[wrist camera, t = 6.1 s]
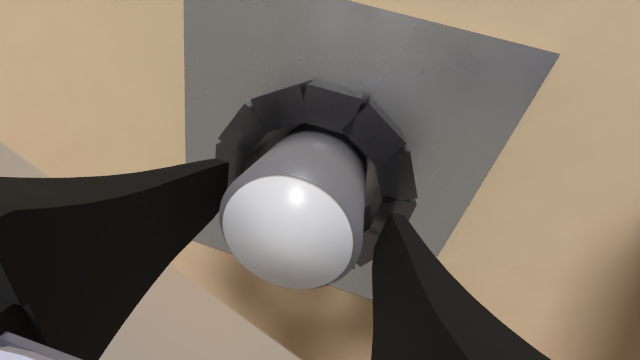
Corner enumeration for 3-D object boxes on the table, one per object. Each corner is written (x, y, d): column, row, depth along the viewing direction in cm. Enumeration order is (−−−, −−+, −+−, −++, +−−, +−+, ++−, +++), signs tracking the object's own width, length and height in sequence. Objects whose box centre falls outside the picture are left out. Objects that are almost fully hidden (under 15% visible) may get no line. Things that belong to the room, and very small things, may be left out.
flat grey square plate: (550, 54, 11) (610, 53, 8) (403, 303, 18) (408, 345, 15) (192, -37, 12) (137, -65, 9) (191, 233, 19) (162, 262, 16)
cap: (381, 140, 13) (388, 204, 7) (348, 218, 15) (333, 312, 9) (287, 108, 13) (222, 145, 7) (268, 190, 15) (208, 265, 10)
